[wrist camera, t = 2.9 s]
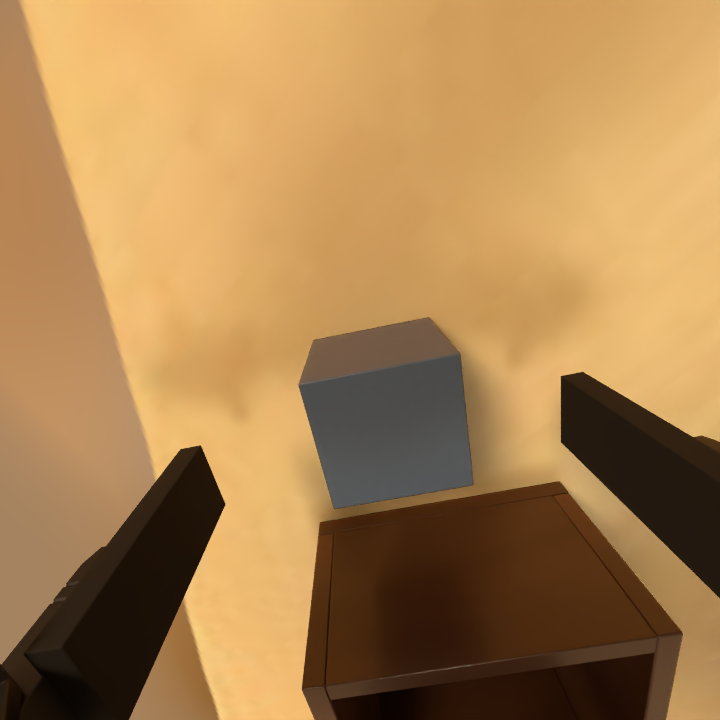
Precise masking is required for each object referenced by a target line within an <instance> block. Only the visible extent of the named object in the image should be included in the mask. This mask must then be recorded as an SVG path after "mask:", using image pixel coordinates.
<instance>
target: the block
mask: <svg viewBox="0 0 720 720" xmlns="http://www.w3.org/2000/svg"><path fill="white" fill-rule="evenodd" d="M299 389H300V392H301V396H302V399H303V403H304V406H305V410H306V413H307V417H308V420H309V424H310V427H311V431H312V434H313V438H314V441H315V445H316V448H317V452H318V455H319V459H320V462H321V466H322V469H323V473H324V476H325V479H326V483H327V486H328V490H329V493H330V497H331V500H332V504H333V507H334V509H338V508H344V507H350V506H356V505H362V504H367V503H373V502H379V501H385V500H390V499H396V498H402V497H408V496H414V495H419V494H425V493H431V492H437V491H442V490H448V489H454V488H460V487H466V486H471V485H473V473H472V463H471V453H470V444H469V434H468V424H467V414H466V404H465V395H464V385H463V375H462V365H461V355H460V353H459V352H458V351H457V349H456V348H455V347H454V346H453V345H452V344H451V342H450V341H449V340H448V339H447V338H446V337H445V335H444V334H443V333H442V332H441V331H440V330H439V329H438V327H437V326H436V325H435V324H434V323H433V322H432V320H431V319H430V318H423V319H418V320H413V321H408V322H403V323H398V324H393V325H388V326H382V327H377V328H372V329H367V330H362V331H357V332H352V333H347V334H342V335H337V336H332V337H327V338H322V339H316V340H313V343H312V346H311V349H310V352H309V355H308V358H307V361H306V364H305V367H304V370H303V373H302V376H301V379H300V382H299Z"/></svg>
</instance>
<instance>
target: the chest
mask: <svg viewBox="0 0 720 720" xmlns="http://www.w3.org/2000/svg"><path fill="white" fill-rule="evenodd" d="M318 535H319V536H318V544H317V553H316V563H315V572H314V581H313V590H312V600H311V609H310V618H309V628H308V637H307V646H306V655H305V665H304V674H303V683H302V691H303V693H304V696H305V698H306V700H307V703H308V705H309V707H310V710H311V712H312V714H313V717H314V719H315V720H666V717H667V712H668V707H669V702H670V697H671V691H672V686H673V681H674V676H675V671H676V666H677V661H678V656H679V651H680V646H681V641H682V636H683V633H682V631H681V630H680V629H679V628H678V626H677V625H676V624H675V623H674V621H673V620H672V619H671V618H670V617H669V615H668V614H667V613H666V612H665V610H664V609H663V608H662V607H661V606H660V604H659V603H658V602H657V601H656V599H655V598H654V597H653V596H652V595H651V593H650V592H649V591H648V590H647V588H646V587H645V586H644V585H643V583H642V582H641V581H640V580H639V579H638V577H637V576H636V575H635V574H634V572H633V571H632V570H631V569H630V568H629V566H628V565H627V564H626V563H625V561H624V560H623V559H622V558H621V557H620V555H619V554H618V553H617V552H616V550H615V549H614V548H613V547H612V546H611V544H610V543H609V542H608V541H607V539H606V538H605V537H604V536H603V535H602V533H601V532H600V531H599V530H598V528H597V527H596V526H595V525H594V524H593V522H592V521H591V520H590V519H589V517H588V516H587V515H586V514H585V513H584V511H583V510H582V509H581V508H580V506H579V505H578V504H577V503H576V502H575V500H574V499H573V498H572V497H571V495H570V494H568V491H567V490H566V489H565V488H564V486H563V485H562V484H561V483H560V482H554V483H548V484H542V485H536V486H530V487H525V488H519V489H513V490H507V491H501V492H495V493H490V494H484V495H478V496H472V497H466V498H460V499H455V500H449V501H443V502H437V503H431V504H425V505H420V506H414V507H408V508H402V509H396V510H390V511H385V512H379V513H373V514H367V515H361V516H355V517H350V518H344V519H338V520H332V521H326V522H320V525H319V534H318Z"/></svg>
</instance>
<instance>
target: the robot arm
mask: <svg viewBox="0 0 720 720" xmlns="http://www.w3.org/2000/svg"><path fill="white" fill-rule="evenodd" d="M561 443H562V444H563V445H564V446H565V447H566V448H568V449H569V450H570V451H571V452H572V453H573V454H574V455H575V456H576V457H577V458H578V459H579V460H580V461H581V462H582V463H583V464H584V465H585V466H586V467H587V468H588V469H589V470H590V471H591V472H592V473H593V474H594V475H595V476H596V477H597V478H598V479H599V480H600V481H601V482H602V483H603V484H604V485H605V486H606V487H607V488H608V489H609V490H610V491H611V492H612V493H613V494H614V495H615V496H616V497H617V498H618V499H619V500H620V501H621V502H622V503H624V504H625V505H626V506H627V507H628V508H629V509H630V510H631V511H632V512H633V513H634V514H635V515H636V516H637V517H638V518H639V519H640V520H641V521H642V522H643V523H644V524H645V525H646V526H647V527H648V528H649V529H650V530H651V531H652V532H653V533H654V534H655V535H656V536H657V537H658V538H659V539H660V540H661V541H662V542H663V543H664V544H665V545H666V546H667V547H668V548H669V549H670V550H671V551H672V552H673V553H674V554H675V555H676V556H677V557H679V558H680V559H681V560H682V561H683V562H684V563H685V564H686V565H687V566H688V567H689V568H690V569H691V570H692V571H693V572H694V573H695V574H696V575H697V576H698V577H699V578H700V579H701V580H702V581H703V582H704V583H705V584H706V585H707V586H708V587H709V588H710V589H711V590H712V591H713V592H714V593H715V594H716V595H717V596H718V597H719V598H720V442H718V441H716V440H713V439H710V438H707V437H704V436H697V437H692V436H690V435H688V434H687V433H685V432H683V431H682V430H680V429H678V428H677V427H675V426H673V425H671V424H670V423H668V422H666V421H665V420H663V419H661V418H660V417H658V416H656V415H655V414H653V413H651V412H650V411H648V410H646V409H645V408H643V407H641V406H639V405H638V404H636V403H634V402H633V401H631V400H629V399H628V398H626V397H624V396H623V395H621V394H619V393H618V392H616V391H614V390H612V389H611V388H609V387H607V386H606V385H604V384H602V383H601V382H599V381H597V380H596V379H594V378H592V377H591V376H589V375H587V374H585V373H584V372H580V373H575V374H570V375H565V376H561ZM224 506H225V502H224V500H223V497H222V495H221V493H220V490H219V488H218V485H217V483H216V481H215V478H214V476H213V473H212V471H211V469H210V466H209V464H208V461H207V459H206V457H205V454H204V452H203V449H202V447H201V445H200V446H195V447H190V448H185V449H180V451H179V452H178V453H177V455H176V456H175V457H174V459H173V460H172V461H171V462H170V464H169V465H168V466H167V468H166V469H165V470H164V472H163V473H162V474H161V476H160V477H159V478H158V479H157V481H156V482H155V483H154V485H153V486H152V487H151V489H150V490H149V491H148V492H147V494H146V495H145V496H144V498H143V499H142V500H141V502H140V503H139V504H138V505H137V507H136V508H135V509H134V511H133V512H132V513H131V515H130V516H129V517H128V518H127V520H126V521H125V522H124V524H123V525H122V526H121V528H120V529H119V530H118V532H117V533H116V534H115V535H114V537H113V538H112V539H111V541H110V542H109V543H108V544H107V546H105V547H101V548H100V549H99V550H98V551H97V552H95V553H94V554H93V555H92V556H91V557H90V558H89V559H87V560H86V561H85V562H84V563H83V564H82V565H81V566H80V567H79V569H78V570H77V571H76V572H75V573H74V575H73V576H72V577H71V578H70V580H69V581H68V582H67V583H66V584H67V585H66V587H64V588H63V589H62V590H61V591H60V592H59V594H58V595H57V596H56V597H55V599H54V602H53V604H50V605H49V606H48V607H47V609H46V610H45V611H44V612H43V613H42V615H41V616H40V617H39V618H38V620H37V621H36V622H35V623H34V625H33V626H32V627H31V628H30V630H29V631H28V632H27V634H26V635H25V636H24V637H23V638H22V640H21V641H20V642H19V643H18V645H17V646H16V647H15V648H14V650H13V651H12V652H11V653H10V655H9V656H8V657H7V658H6V660H5V661H4V662H3V664H2V665H1V664H0V720H129V718H130V716H131V714H132V712H133V709H134V707H135V705H136V703H137V700H138V698H139V696H140V694H141V691H142V689H143V687H144V685H145V683H146V680H147V678H148V676H149V673H150V671H151V669H152V667H153V665H154V662H155V660H156V658H157V656H158V653H159V651H160V649H161V647H162V645H163V642H164V640H165V638H166V636H167V633H168V631H169V629H170V627H171V625H172V622H173V620H174V618H175V615H176V613H177V611H178V609H179V607H180V605H181V602H182V600H183V598H184V596H185V593H186V591H187V589H188V587H189V584H190V582H191V580H192V578H193V576H194V573H195V571H196V569H197V567H198V564H199V562H200V560H201V558H202V555H203V553H204V551H205V549H206V547H207V544H208V542H209V540H210V538H211V535H212V533H213V531H214V529H215V526H216V524H217V522H218V520H219V518H220V515H221V513H222V511H223V509H224Z"/></svg>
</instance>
